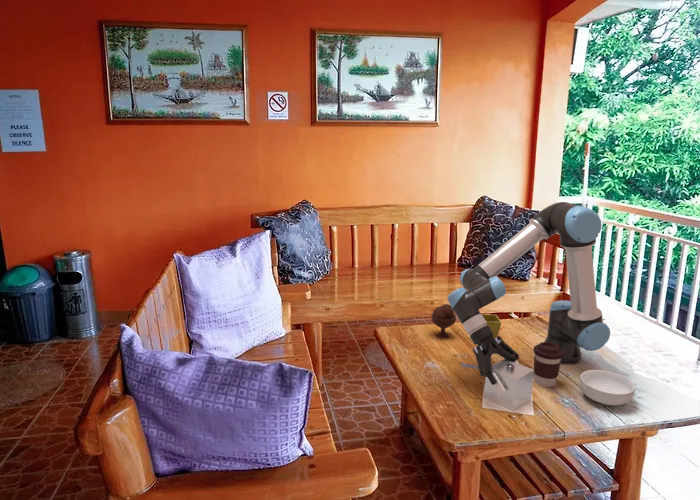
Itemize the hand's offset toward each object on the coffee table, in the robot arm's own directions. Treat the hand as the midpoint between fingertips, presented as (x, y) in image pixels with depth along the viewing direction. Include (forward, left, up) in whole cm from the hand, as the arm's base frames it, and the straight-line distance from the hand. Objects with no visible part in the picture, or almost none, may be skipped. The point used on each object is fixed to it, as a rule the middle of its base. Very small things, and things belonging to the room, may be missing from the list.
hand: (513, 385), depth 170 cm
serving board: (+1, -1, -7) cm, 7 cm away
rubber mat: (+11, -18, -7) cm, 22 cm away
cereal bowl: (-31, -13, -7) cm, 34 cm away
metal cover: (+1, -1, -6) cm, 6 cm away
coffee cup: (-12, -18, -7) cm, 22 cm away
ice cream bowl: (+28, -51, -7) cm, 59 cm away
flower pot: (+9, -56, -7) cm, 57 cm away
